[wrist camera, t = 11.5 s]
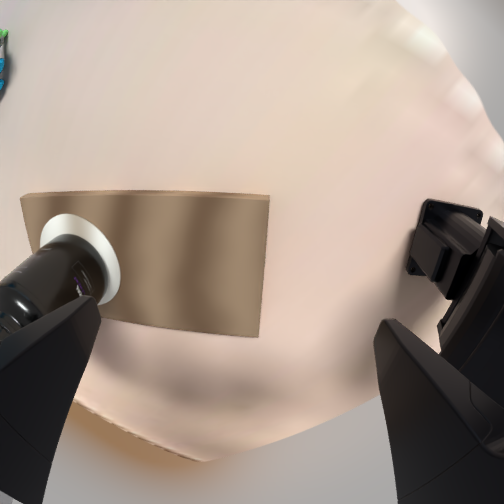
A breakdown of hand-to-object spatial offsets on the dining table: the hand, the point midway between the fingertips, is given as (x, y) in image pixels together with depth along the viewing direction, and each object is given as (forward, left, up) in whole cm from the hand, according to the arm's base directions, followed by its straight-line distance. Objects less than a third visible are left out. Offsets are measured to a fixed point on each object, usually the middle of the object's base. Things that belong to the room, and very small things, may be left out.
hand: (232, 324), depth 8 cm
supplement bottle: (+15, +6, -12) cm, 20 cm away
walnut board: (+10, +6, -13) cm, 17 cm away
